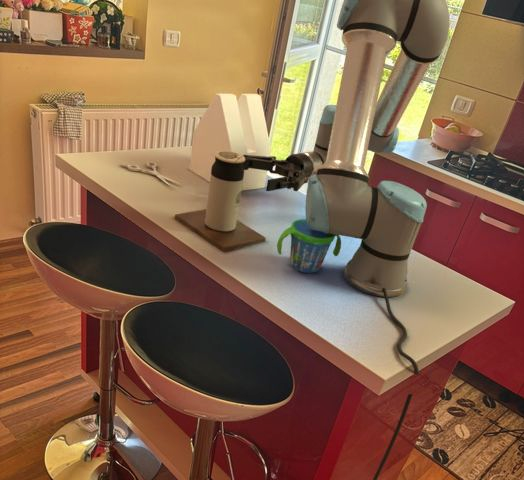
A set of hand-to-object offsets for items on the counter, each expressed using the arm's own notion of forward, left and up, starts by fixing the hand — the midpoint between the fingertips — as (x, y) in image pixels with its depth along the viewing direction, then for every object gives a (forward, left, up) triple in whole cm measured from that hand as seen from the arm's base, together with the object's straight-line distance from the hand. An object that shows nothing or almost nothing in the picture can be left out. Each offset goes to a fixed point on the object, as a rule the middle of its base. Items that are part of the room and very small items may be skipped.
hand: (248, 175), depth 138 cm
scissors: (+35, +13, -14) cm, 39 cm away
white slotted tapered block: (+34, -10, -14) cm, 37 cm away
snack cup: (-23, -7, -14) cm, 28 cm away
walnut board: (-2, +7, -14) cm, 16 cm away
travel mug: (-2, +7, -13) cm, 15 cm away
